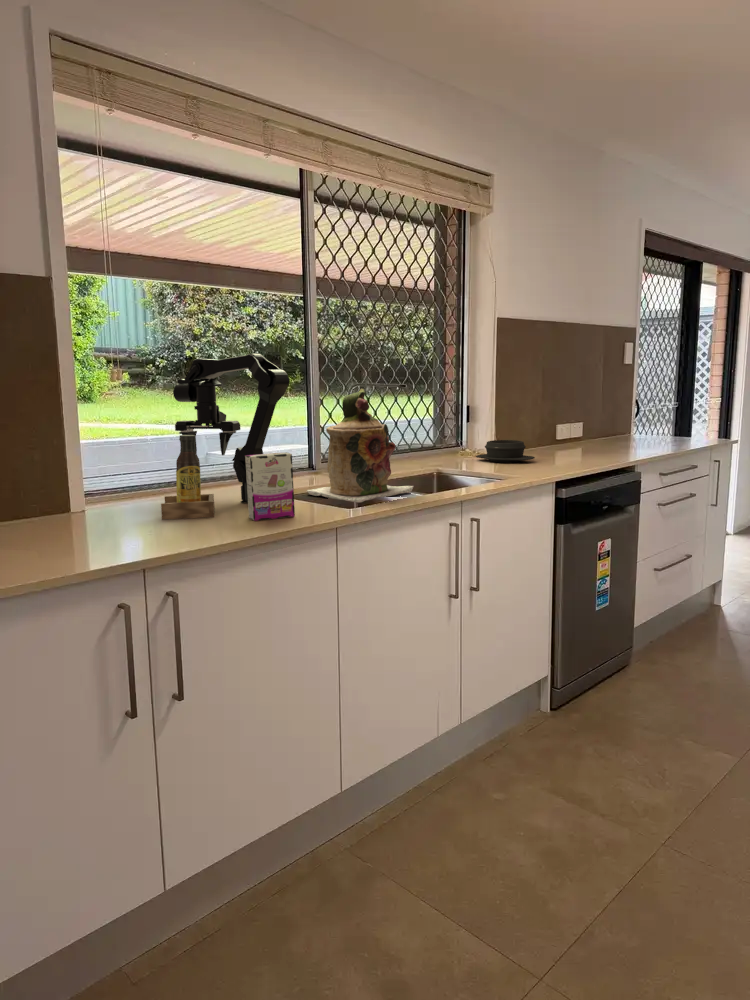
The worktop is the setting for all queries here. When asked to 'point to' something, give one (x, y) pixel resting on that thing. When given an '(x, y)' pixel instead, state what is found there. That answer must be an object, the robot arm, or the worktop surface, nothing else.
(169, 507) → the box
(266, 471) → the candy bar box
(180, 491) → the sauce bottle
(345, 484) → the cookie jar
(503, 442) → the casserole
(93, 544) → the worktop surface
